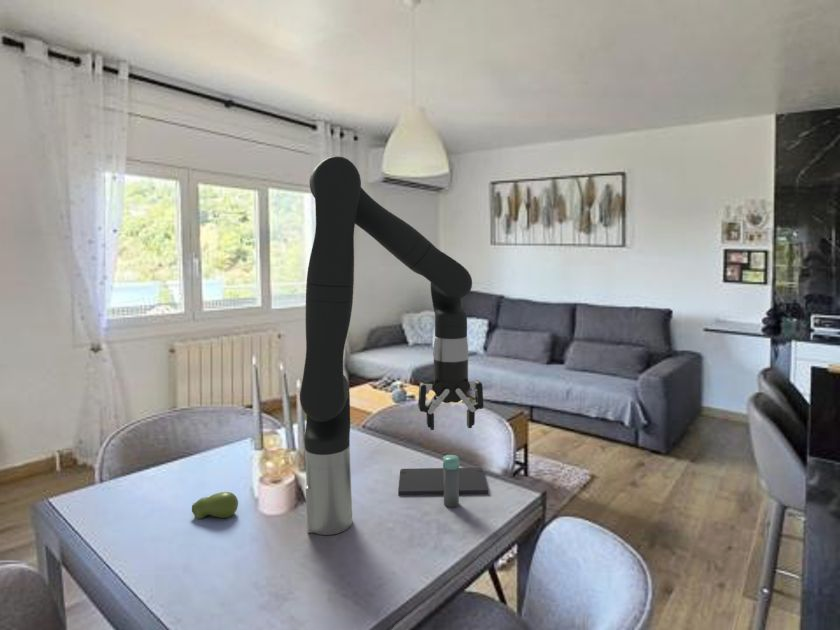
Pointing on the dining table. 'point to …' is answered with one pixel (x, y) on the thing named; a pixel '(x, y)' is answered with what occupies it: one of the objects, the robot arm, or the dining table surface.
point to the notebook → (440, 481)
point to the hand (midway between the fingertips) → (450, 428)
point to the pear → (216, 505)
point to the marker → (451, 481)
